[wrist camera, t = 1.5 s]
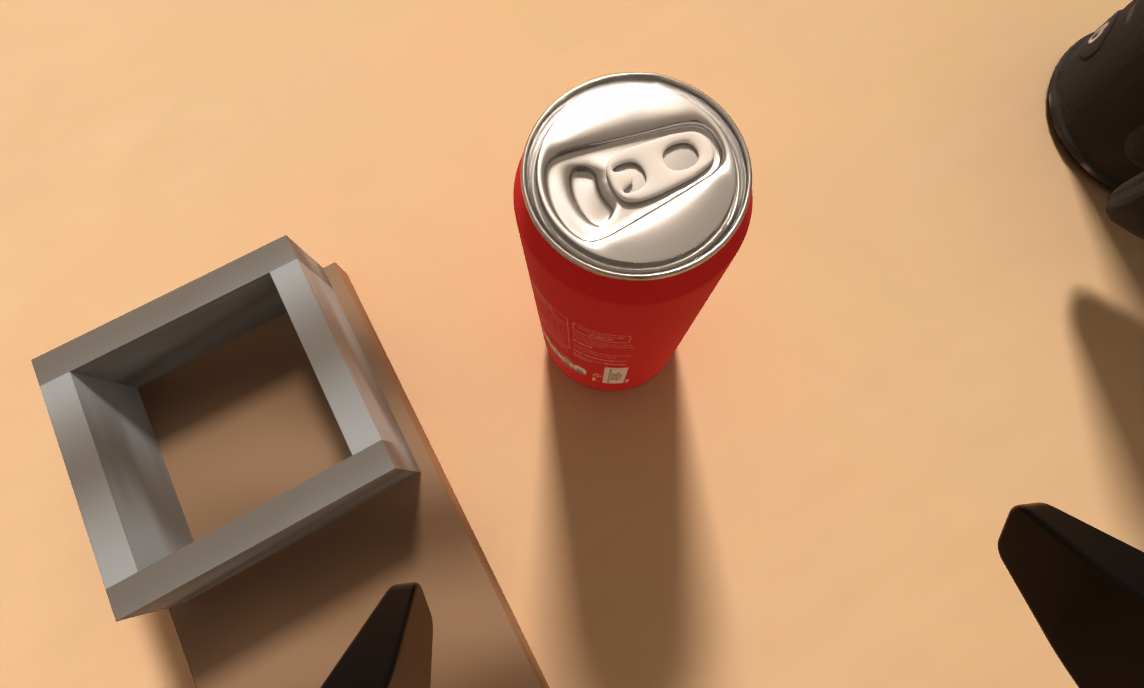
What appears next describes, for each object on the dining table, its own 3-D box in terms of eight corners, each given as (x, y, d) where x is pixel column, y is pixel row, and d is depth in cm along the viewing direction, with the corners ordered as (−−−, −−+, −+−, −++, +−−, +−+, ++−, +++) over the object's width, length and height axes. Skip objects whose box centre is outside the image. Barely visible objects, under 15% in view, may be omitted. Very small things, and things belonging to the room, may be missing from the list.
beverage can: (525, 300, 24) (471, 113, 12) (640, 252, 24) (694, 29, 13) (575, 416, 23) (569, 332, 11) (696, 364, 23) (812, 230, 11)
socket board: (598, 788, 19) (602, 864, 15) (322, 965, 18) (247, 1099, 14) (346, 273, 24) (299, 228, 20) (115, 390, 23) (16, 367, 19)
